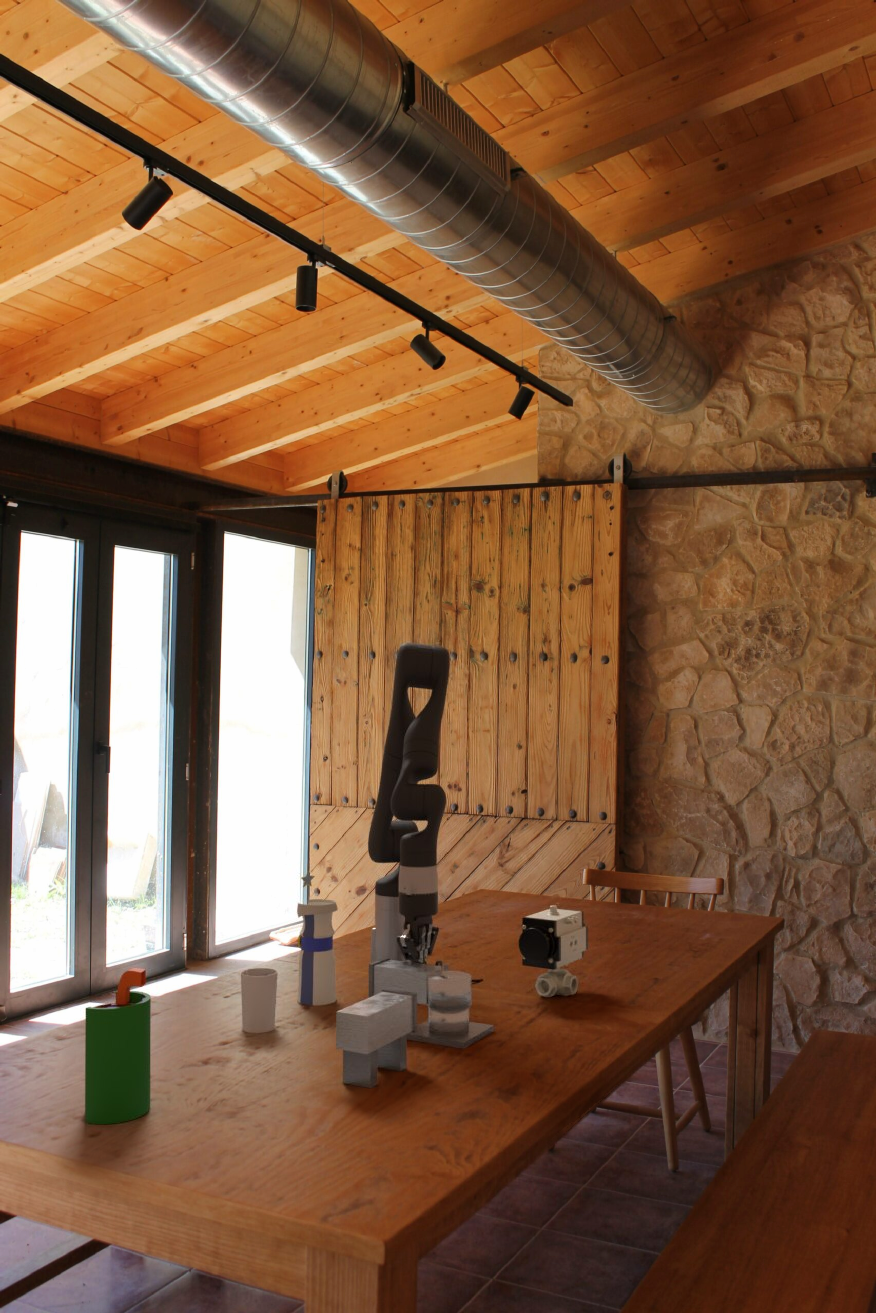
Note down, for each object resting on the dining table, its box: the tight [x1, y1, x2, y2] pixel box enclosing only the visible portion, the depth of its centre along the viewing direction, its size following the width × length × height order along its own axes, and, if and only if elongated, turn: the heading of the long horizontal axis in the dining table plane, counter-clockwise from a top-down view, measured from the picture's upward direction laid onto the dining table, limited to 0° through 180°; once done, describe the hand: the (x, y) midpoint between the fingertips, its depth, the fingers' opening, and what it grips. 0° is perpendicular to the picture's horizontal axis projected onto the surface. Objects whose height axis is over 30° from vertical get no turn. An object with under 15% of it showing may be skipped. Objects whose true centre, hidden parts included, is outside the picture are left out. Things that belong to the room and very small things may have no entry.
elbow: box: [368, 957, 472, 1010], centre depth 197 cm, size 19×8×6 cm, turn 62°
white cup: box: [240, 967, 278, 1034], centre depth 198 cm, size 7×7×10 cm
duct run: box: [335, 988, 418, 1089], centre depth 172 cm, size 15×6×11 cm, turn 152°
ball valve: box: [518, 904, 589, 998], centre depth 223 cm, size 18×8×18 cm, turn 148°
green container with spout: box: [84, 967, 152, 1125], centre depth 156 cm, size 10×9×20 cm
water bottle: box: [296, 870, 338, 1006], centre depth 217 cm, size 8×9×25 cm
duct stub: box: [407, 1007, 495, 1049], centre depth 194 cm, size 12×12×5 cm
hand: (418, 981), depth 207 cm, fingers closed
